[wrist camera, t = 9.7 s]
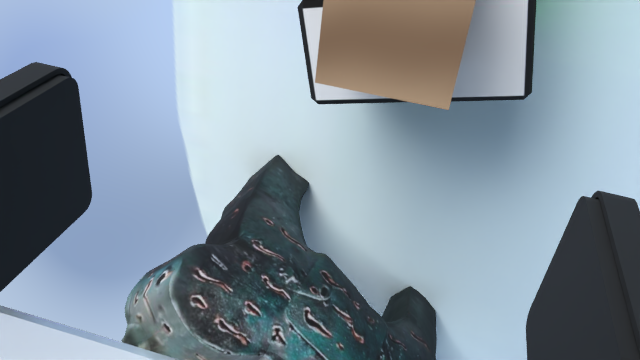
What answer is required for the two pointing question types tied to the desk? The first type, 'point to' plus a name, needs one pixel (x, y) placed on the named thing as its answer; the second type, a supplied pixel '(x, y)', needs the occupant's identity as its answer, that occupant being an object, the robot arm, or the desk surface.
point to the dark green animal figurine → (269, 292)
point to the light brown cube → (394, 47)
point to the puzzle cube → (477, 60)
